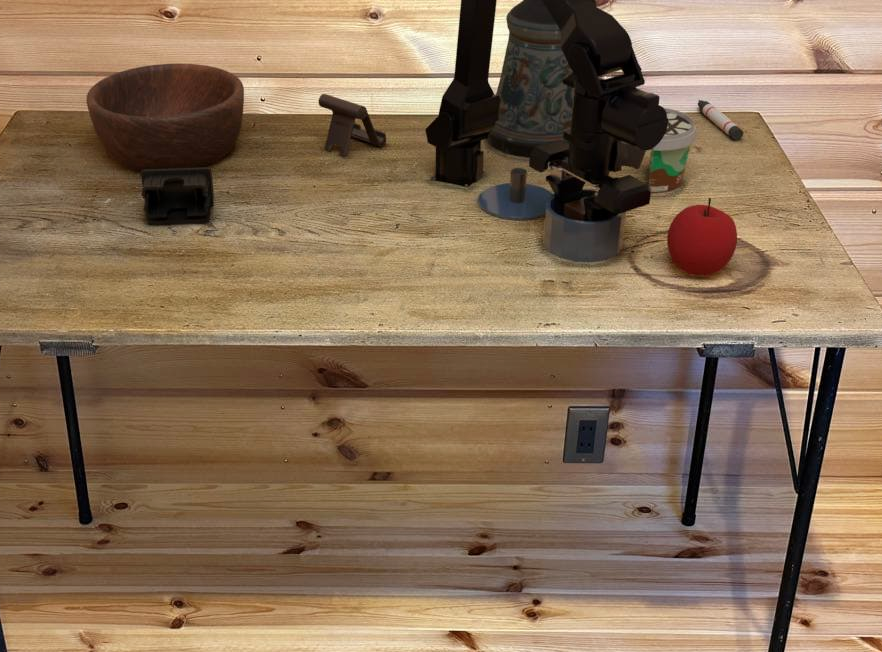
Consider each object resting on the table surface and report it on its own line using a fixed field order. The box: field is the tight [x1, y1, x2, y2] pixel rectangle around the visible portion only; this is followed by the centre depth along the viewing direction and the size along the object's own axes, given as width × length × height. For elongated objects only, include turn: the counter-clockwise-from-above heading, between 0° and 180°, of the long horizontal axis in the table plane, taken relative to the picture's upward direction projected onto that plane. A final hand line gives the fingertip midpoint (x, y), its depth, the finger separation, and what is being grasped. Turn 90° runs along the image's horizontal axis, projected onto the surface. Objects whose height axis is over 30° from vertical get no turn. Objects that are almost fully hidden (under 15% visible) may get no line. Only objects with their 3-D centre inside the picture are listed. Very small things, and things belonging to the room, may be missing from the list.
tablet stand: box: [318, 93, 387, 157], centre depth 193 cm, size 9×8×8 cm
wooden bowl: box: [85, 63, 245, 172], centre depth 192 cm, size 25×25×10 cm
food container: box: [648, 107, 697, 194], centre depth 179 cm, size 12×6×10 cm, turn 168°
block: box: [563, 197, 588, 221], centre depth 163 cm, size 4×4×5 cm
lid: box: [477, 167, 554, 221], centre depth 175 cm, size 12×12×6 cm
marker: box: [697, 99, 744, 141], centre depth 200 cm, size 15×2×2 cm, turn 12°
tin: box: [542, 187, 627, 263], centre depth 164 cm, size 11×11×6 cm
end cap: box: [140, 166, 215, 226], centre depth 174 cm, size 10×7×7 cm
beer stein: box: [487, 0, 597, 159], centre depth 189 cm, size 16×19×25 cm
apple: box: [666, 197, 738, 277], centre depth 157 cm, size 9×9×10 cm
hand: (582, 232), depth 164 cm, fingers closed on block, 4 cm apart
